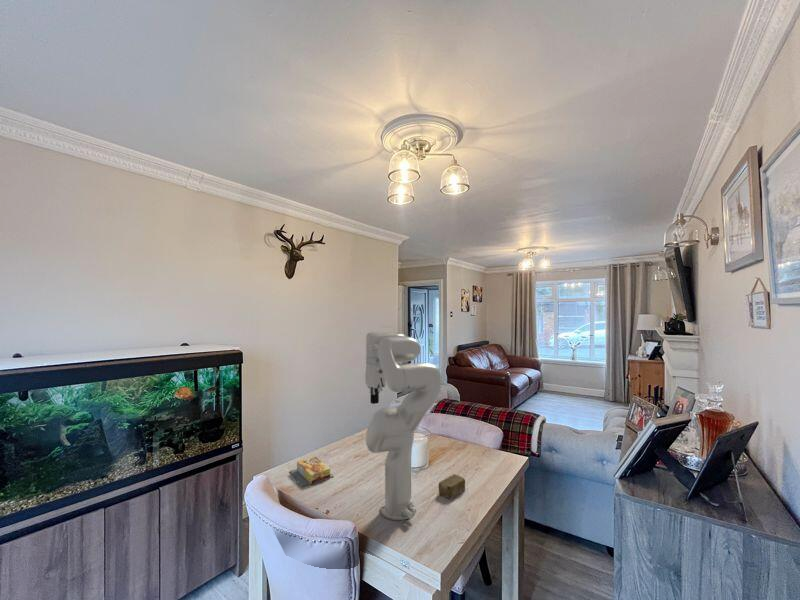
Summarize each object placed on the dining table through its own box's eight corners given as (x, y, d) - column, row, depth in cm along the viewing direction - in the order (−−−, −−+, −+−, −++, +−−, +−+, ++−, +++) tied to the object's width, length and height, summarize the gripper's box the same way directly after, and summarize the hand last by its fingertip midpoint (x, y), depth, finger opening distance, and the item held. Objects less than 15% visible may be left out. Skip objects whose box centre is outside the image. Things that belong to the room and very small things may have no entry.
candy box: (330, 477, 143) (315, 465, 155) (330, 467, 143) (315, 456, 155) (311, 484, 138) (296, 471, 150) (311, 474, 138) (296, 461, 150)
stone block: (437, 495, 131) (437, 482, 131) (454, 484, 139) (454, 472, 139) (449, 501, 127) (449, 487, 127) (466, 489, 135) (466, 477, 135)
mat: (333, 477, 145) (333, 476, 145) (301, 486, 137) (301, 485, 137) (319, 463, 158) (319, 462, 158) (289, 471, 150) (289, 470, 150)
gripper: (391, 362, 142) (391, 405, 141) (373, 358, 154) (373, 398, 153) (376, 363, 137) (376, 408, 137) (358, 359, 150) (358, 400, 149)
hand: (374, 403), depth 145 cm, fingers closed
